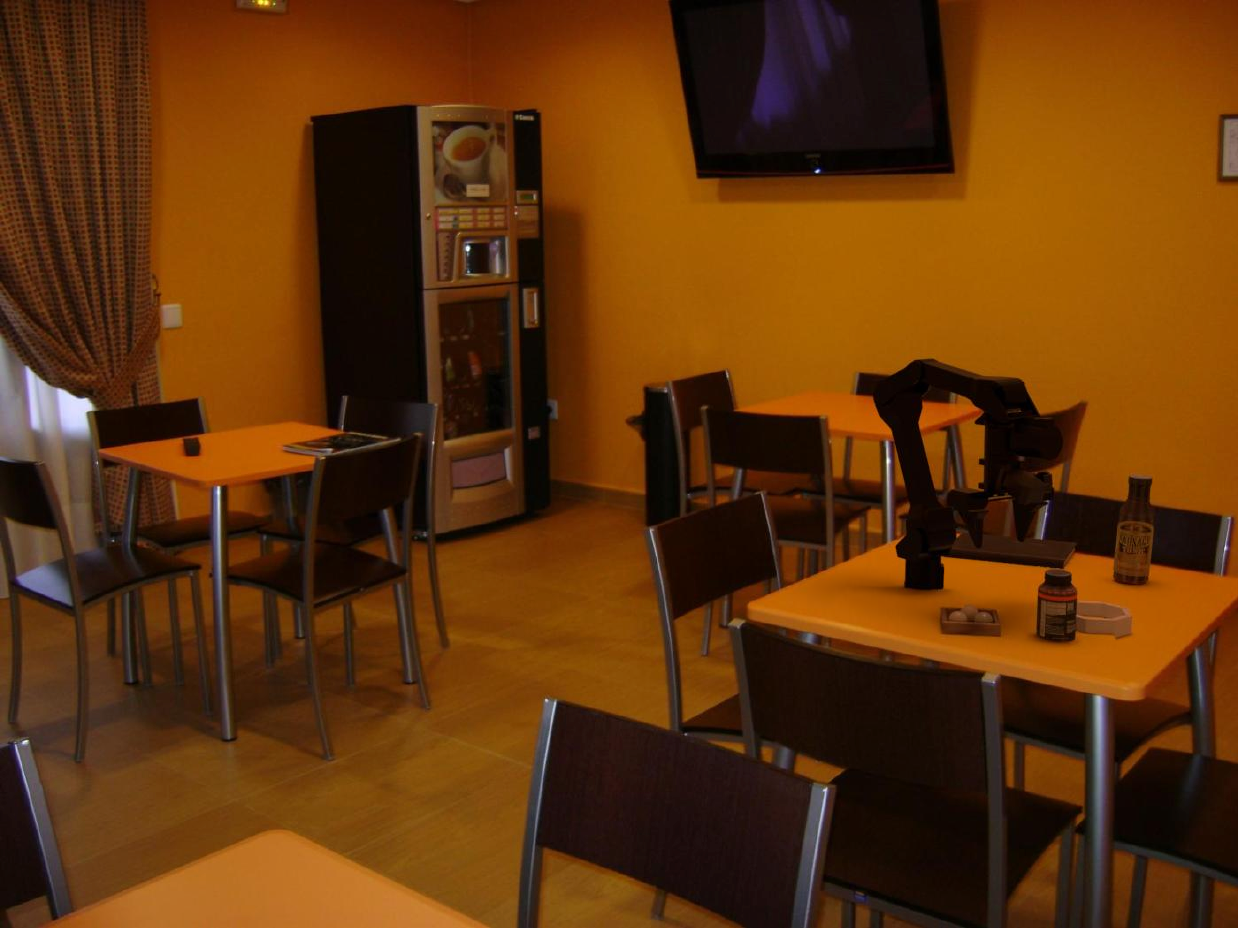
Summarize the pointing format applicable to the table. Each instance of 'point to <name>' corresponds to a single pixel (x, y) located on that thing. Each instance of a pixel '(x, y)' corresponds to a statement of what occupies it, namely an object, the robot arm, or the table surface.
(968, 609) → the pebble
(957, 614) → the pebble
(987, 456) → the robot arm
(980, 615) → the pebble
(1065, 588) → the supplement bottle
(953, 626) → the pebble tray
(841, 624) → the table surface
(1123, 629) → the dish
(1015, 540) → the hardcover book
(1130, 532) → the sauce bottle
